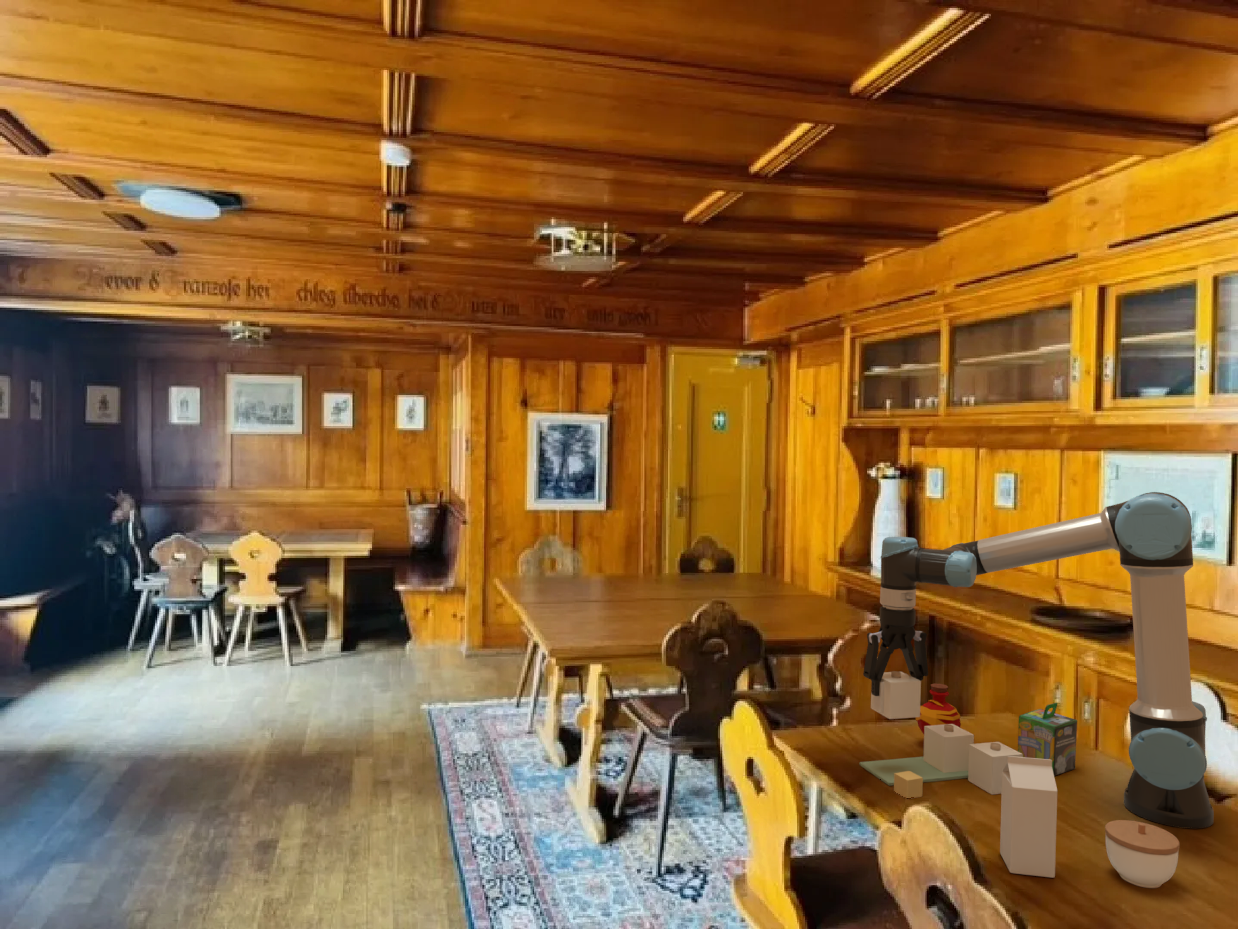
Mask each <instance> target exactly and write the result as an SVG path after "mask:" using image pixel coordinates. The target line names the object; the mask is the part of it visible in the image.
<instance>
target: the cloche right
mask: <svg viewBox="0 0 1238 929" xmlns="http://www.w3.org/2000/svg"><path fill="white" fill-rule="evenodd" d="M1008 756H1014V757H1023V754H1022V753H1020V752H1018V750H1016V749H1013V748H1011V747H1010V746H1007V745H1005V744H1004V743H1002V742H1000V741H993V742H992V741H990V742H981V743H974V744H969V768H968V778H967V781H969V782H970V783H972V785H975V786H977V787H979V788H980V789H981V790H983V791H984V792H987V793H988V794H990V795H999V794H1000V795H1002V771H1003V769H1004V767H1005V765H1006V764H1007V760H1008Z"/></svg>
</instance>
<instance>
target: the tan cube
mask: <svg viewBox="0 0 1238 929" xmlns="http://www.w3.org/2000/svg"><path fill="white" fill-rule="evenodd" d="M923 783H924V782H923V778H922V777H920V776H918V775H916V774H915V773H913V772H911V771H905V772H899V773H894V785H893V792H894V791H895V792H896V793H895V792H894V793H895V794H897V793H898V794H897V795H899V794H900V795H899V796H901V797H902V796H903V797H902V798H904V797H906V798H911V797H914V798H913V799H915V798H920V797H921V798H922V797H923V789H924V788H923ZM906 798H905V799H906ZM911 799H912V798H911Z"/></svg>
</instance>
